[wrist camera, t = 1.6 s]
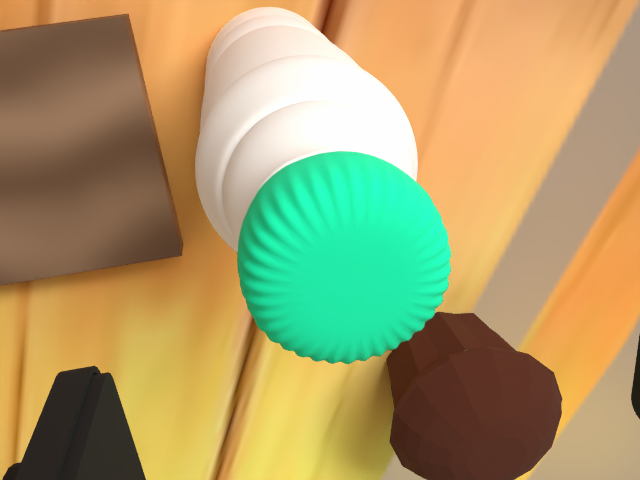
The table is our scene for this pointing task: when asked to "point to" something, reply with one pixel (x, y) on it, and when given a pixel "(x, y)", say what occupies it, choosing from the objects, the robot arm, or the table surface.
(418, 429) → the muffin
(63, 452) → the robot arm
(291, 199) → the water bottle
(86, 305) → the table surface
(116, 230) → the walnut board
